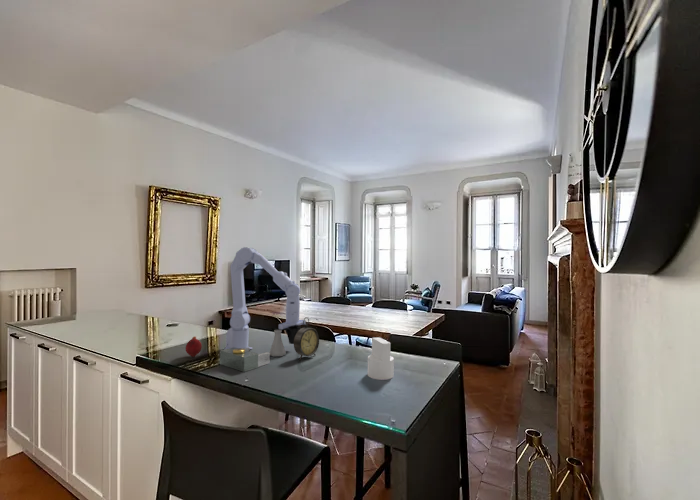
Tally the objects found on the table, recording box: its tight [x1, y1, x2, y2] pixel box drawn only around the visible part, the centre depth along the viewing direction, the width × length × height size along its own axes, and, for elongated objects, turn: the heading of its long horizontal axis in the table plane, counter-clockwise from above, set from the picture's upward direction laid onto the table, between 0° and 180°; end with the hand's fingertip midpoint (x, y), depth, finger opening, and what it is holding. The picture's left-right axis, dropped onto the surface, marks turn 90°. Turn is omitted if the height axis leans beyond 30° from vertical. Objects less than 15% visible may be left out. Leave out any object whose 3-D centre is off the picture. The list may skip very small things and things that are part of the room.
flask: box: [268, 329, 287, 357], centre depth 140 cm, size 7×7×10 cm
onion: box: [185, 336, 203, 358], centre depth 134 cm, size 6×6×8 cm
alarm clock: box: [293, 316, 320, 361], centre depth 137 cm, size 11×5×16 cm, turn 143°
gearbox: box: [219, 346, 271, 373], centre depth 127 cm, size 14×12×6 cm
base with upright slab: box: [367, 336, 395, 381], centre depth 118 cm, size 9×9×12 cm
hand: (292, 343), depth 147 cm, fingers closed
